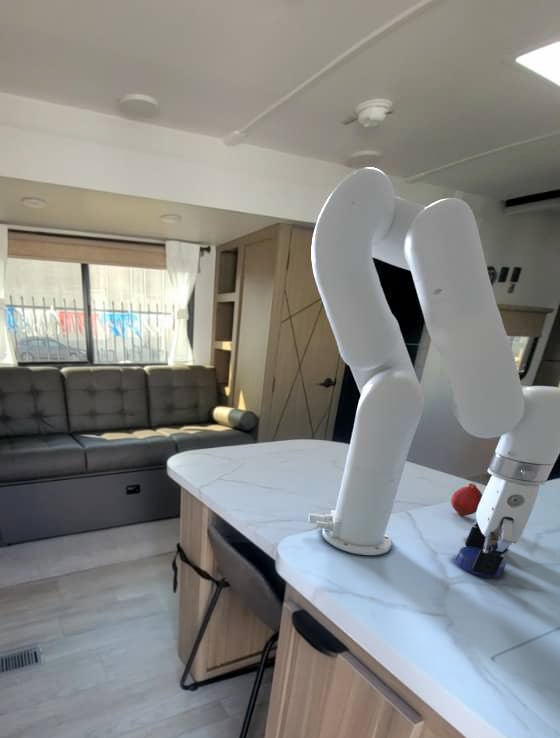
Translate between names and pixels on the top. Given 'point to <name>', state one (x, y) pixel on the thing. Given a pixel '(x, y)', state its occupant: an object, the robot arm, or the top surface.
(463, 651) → the top surface
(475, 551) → the honey lid
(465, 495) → the red pomegranate
